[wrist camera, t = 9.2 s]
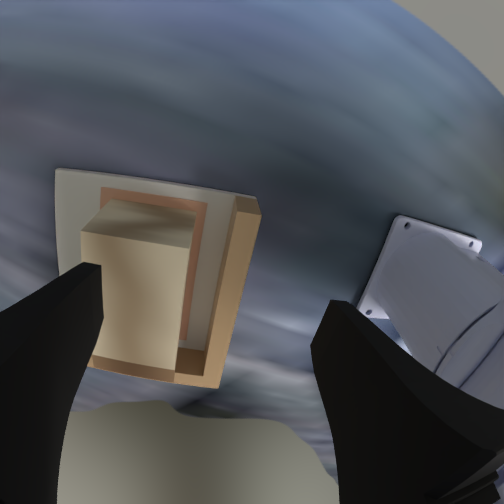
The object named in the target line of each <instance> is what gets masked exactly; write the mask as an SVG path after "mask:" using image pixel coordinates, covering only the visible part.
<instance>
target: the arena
mask: <svg viewBox="0 0 504 504" xmlns="http://www.w3.org/2000/svg"><path fill="white" fill-rule="evenodd" d="M111 199H119V200H126V201H132V202H139V203H145V204H152V205H158V206H165V207H171V208H177V209H183V210H189V211H195V212H197V215H196V221H195V227H194V234H193V240H192V246H191V253H190V260H189V267H188V274H187V281H186V288H185V296H184V304H183V312H182V320H181V329H180V337H179V344H178V352H177V359H176V367H175V375H174V383H177V384H184V385H192V386H200V387H208V388H218V387H219V383H220V379H221V375H222V371H223V367H224V363H225V359H226V356H227V352H228V348H229V344H230V340H231V336H232V332H233V328H234V324H235V320H236V316H237V312H238V308H239V304H240V300H241V296H242V292H243V288H244V284H245V280H246V276H247V272H248V269H249V265H250V261H251V257H252V253H253V249H254V245H255V241H256V237H257V233H258V229H259V225H260V221H261V217H262V215H261V211H260V208H259V205H258V202H257V198H256V197H255V196H250V195H245V194H239V193H234V192H228V191H223V190H217V189H211V188H205V187H199V186H193V185H187V184H181V183H175V182H168V181H161V180H155V179H148V178H141V177H134V176H126V175H119V174H111V173H103V172H95V171H86V170H77V169H68V168H57V169H56V170H55V223H56V242H57V255H58V266H59V276H61V275H62V274H64V273H65V272H67V271H69V270H70V269H72V268H73V267H75V266H77V265H78V264H80V263H82V261H81V232H80V231H81V230H82V229H83V228H84V227H85V225H86V224H87V223H88V222H89V221H90V220H91V219H92V218H93V217H94V216H95V215H96V214H97V213H98V212H99V211H100V210H101V209H102V208H103V207H104V206H105V205H106V204H107V203H108V202H109V201H110V200H111ZM87 366H89V367H93V368H94V365H93V359H92V355H91V358H90V360H89V363H88V365H87ZM97 369H99V368H97ZM101 370H103V369H101ZM106 371H108V370H106ZM110 372H112V371H110ZM115 373H117V372H115ZM120 374H122V373H120ZM125 375H127V374H125ZM130 376H132V375H130ZM135 377H137V376H135ZM140 378H142V377H140ZM146 379H148V378H146ZM152 380H154V379H152ZM158 381H160V380H158ZM164 382H166V381H164ZM170 383H173V382H170Z"/></svg>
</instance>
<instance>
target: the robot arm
mask: <svg viewBox="0 0 504 504" xmlns="http://www.w3.org/2000/svg"><path fill="white" fill-rule="evenodd" d="M407 222H408V225H407V226H406V227H404V226H405V224H406V223H407ZM469 243H470V244H469ZM481 247H482V242H481V241H480V240H479V239H477V238H474V237H471V236H468V235H465V234H462V233H458V232H455V231H452V230H449V229H446V228H443V227H440V226H436V225H433V224H430V223H427V222H423V221H420V220H417V219H413V218H410V217H406V216H403V215H399V216H397V217H396V218H395V219H394V221H393V223H392V226H391V229H390V231H389V234H388V236H387V239H386V241H385V244H384V246H383V249H382V251H381V254H380V256H379V258H378V261H377V263H376V266H375V268H374V270H373V272H372V275H371V277H370V279H369V282H368V284H367V286H366V288H365V290H364V293H363V295H362V297H361V299H360V301H359V303H358V306H357V308H355V307H354V306H353V305H351V304H350V303H349V302H347V301H339V300H330V302H329V304H328V307H327V309H326V311H325V314H324V316H323V318H322V320H321V323H320V325H319V327H318V329H317V332H316V334H315V336H314V338H313V341H312V343H311V345H310V347H311V355H312V362H313V368H314V373H315V377H316V381H317V384H318V387H319V391H320V394H321V398H322V401H323V404H324V408H325V411H326V415H327V418H328V421H329V425H330V429H331V433H332V437H333V443H334V450H335V456H336V464H337V473H338V483H339V501H340V504H504V275H503V274H502V273H500V272H499V271H498V270H497V269H496V268H495V267H494V266H492V265H491V264H490V263H489V262H488V261H486V260H485V259H484V258H483V257H482V256H480V255H479V254H478V253H479V251H480V249H481ZM367 310H369V311H368V312H367ZM367 317H370V318H382V319H390V320H391V322H392V323H393V325H394V327H395V328H396V330H397V331H398V333H399V335H400V336H401V338H402V339H403V341H404V343H405V344H406V346H407V348H408V349H409V351H410V352H411V354H412V356H413V357H414V358H413V357H412V356H411V355H409V354H408V353H407V352H406V351H404V350H403V349H402V348H401V347H400V346H399V345H397V344H396V343H395V342H394V341H393V340H392V339H390V338H389V337H388V336H387V335H386V334H385V333H384V332H383V331H381V330H380V329H379V328H378V327H377V326H376V325H375V324H374V323H373V322H371V321H370V320H369V319H368V318H367ZM103 320H104V310H103V293H102V266H101V265H98V264H93V263H88V262H82V263H80V264H78V265H77V266H75V267H73V268H72V269H70V270H69V271H67V272H65V273H64V274H62V275H61V276H59V277H58V278H56V279H54V280H53V281H51V282H50V283H48V284H47V285H45V286H43V287H42V288H40V289H39V290H37V291H36V292H34V293H32V294H31V295H29V296H27V297H26V298H24V299H22V300H20V301H19V302H17V303H16V304H14V305H12V306H11V307H9V308H7V309H5V310H3V311H1V312H0V504H57V487H58V476H59V465H60V458H61V452H62V446H63V440H64V435H65V430H66V426H67V421H68V417H69V413H70V409H71V406H72V403H73V400H74V397H75V395H76V392H77V389H78V387H79V384H80V382H81V379H82V377H83V375H84V372H85V370H86V367H87V365H88V363H89V360H90V358H91V355H92V353H93V351H94V348H95V346H96V343H97V340H98V337H99V333H100V330H101V326H102V323H103Z"/></svg>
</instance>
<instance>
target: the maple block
mask: <svg viewBox="0 0 504 504" xmlns="http://www.w3.org/2000/svg"><path fill="white" fill-rule="evenodd" d="M196 215H197V212H195V211H189V210H183V209H177V208H171V207H165V206H158V205H152V204H145V203H139V202H132V201H126V200H119V199H111V200H110V201H109V202H108V203H107V204H106V205H105V206H104V207H103V208H102V209H101V210H100V211H99V212H98V213H97V214H96V215H95V216H94V217H93V218H92V219H91V220H90V221H89V222H88V223H87V224H86V225H85V227H84V228H83V229H82V230H81V231H80V232H81V261H82V262H88V263H93V264H98V265H101V266H102V293H103V310H104V320H103V323H102V326H101V330H100V333H99V337H98V340H97V343H96V346H95V348H94V351H93V353H92V359H93V365H94V368H99V369H103V370H108V371H112V372H117V373H122V374H127V375H132V376H137V377H142V378H148V379H154V380H160V381H166V382H173V383H174V375H175V367H176V359H177V352H178V344H179V337H180V329H181V320H182V312H183V304H184V296H185V288H186V281H187V274H188V267H189V260H190V253H191V246H192V240H193V234H194V227H195V221H196Z"/></svg>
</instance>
